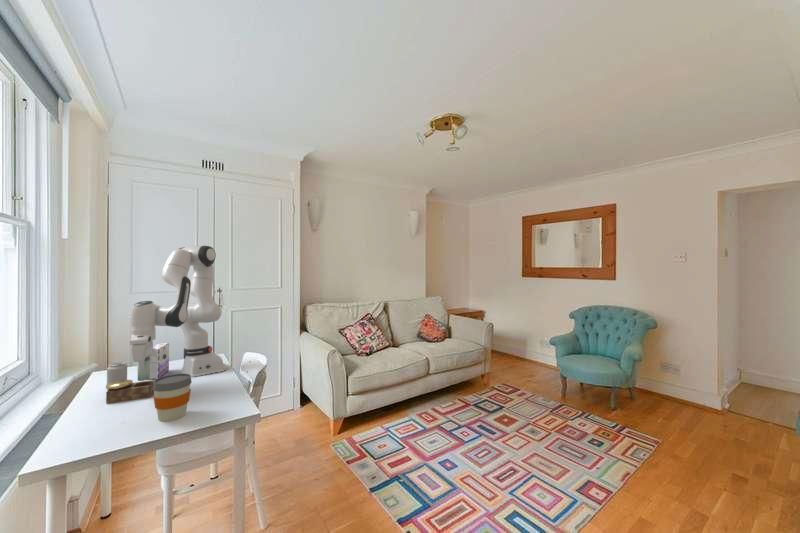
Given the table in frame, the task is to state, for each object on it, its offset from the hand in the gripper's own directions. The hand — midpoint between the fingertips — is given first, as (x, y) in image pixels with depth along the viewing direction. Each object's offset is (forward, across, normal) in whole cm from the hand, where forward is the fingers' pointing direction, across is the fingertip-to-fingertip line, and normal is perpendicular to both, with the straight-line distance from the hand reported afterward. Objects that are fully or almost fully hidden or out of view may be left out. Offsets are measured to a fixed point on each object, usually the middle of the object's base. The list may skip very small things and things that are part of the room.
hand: (143, 366), depth 147 cm
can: (+14, -16, -14) cm, 25 cm away
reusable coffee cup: (+13, +33, +15) cm, 38 cm away
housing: (+13, 0, -4) cm, 14 cm away
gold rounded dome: (+12, +1, -9) cm, 15 cm away
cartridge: (+6, 0, 0) cm, 6 cm away
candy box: (+14, -30, 0) cm, 33 cm away
